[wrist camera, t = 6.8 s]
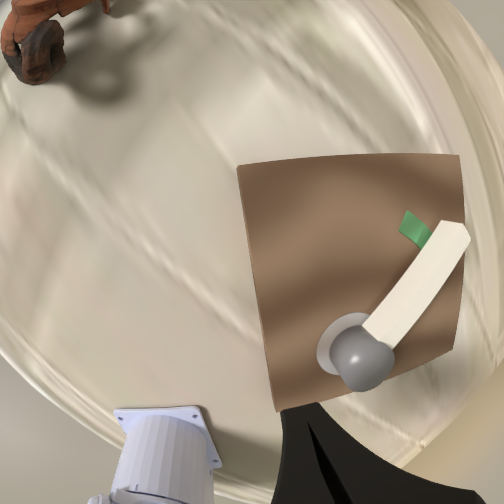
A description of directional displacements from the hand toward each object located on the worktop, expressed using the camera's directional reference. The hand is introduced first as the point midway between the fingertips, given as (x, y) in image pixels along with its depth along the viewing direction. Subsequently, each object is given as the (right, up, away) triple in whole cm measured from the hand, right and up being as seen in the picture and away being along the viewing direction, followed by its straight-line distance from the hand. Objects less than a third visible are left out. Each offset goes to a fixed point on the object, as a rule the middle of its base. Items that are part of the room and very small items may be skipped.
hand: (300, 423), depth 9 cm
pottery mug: (-17, +23, +5) cm, 29 cm away
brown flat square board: (+7, +4, +11) cm, 14 cm away
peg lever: (+8, +3, +9) cm, 13 cm away
